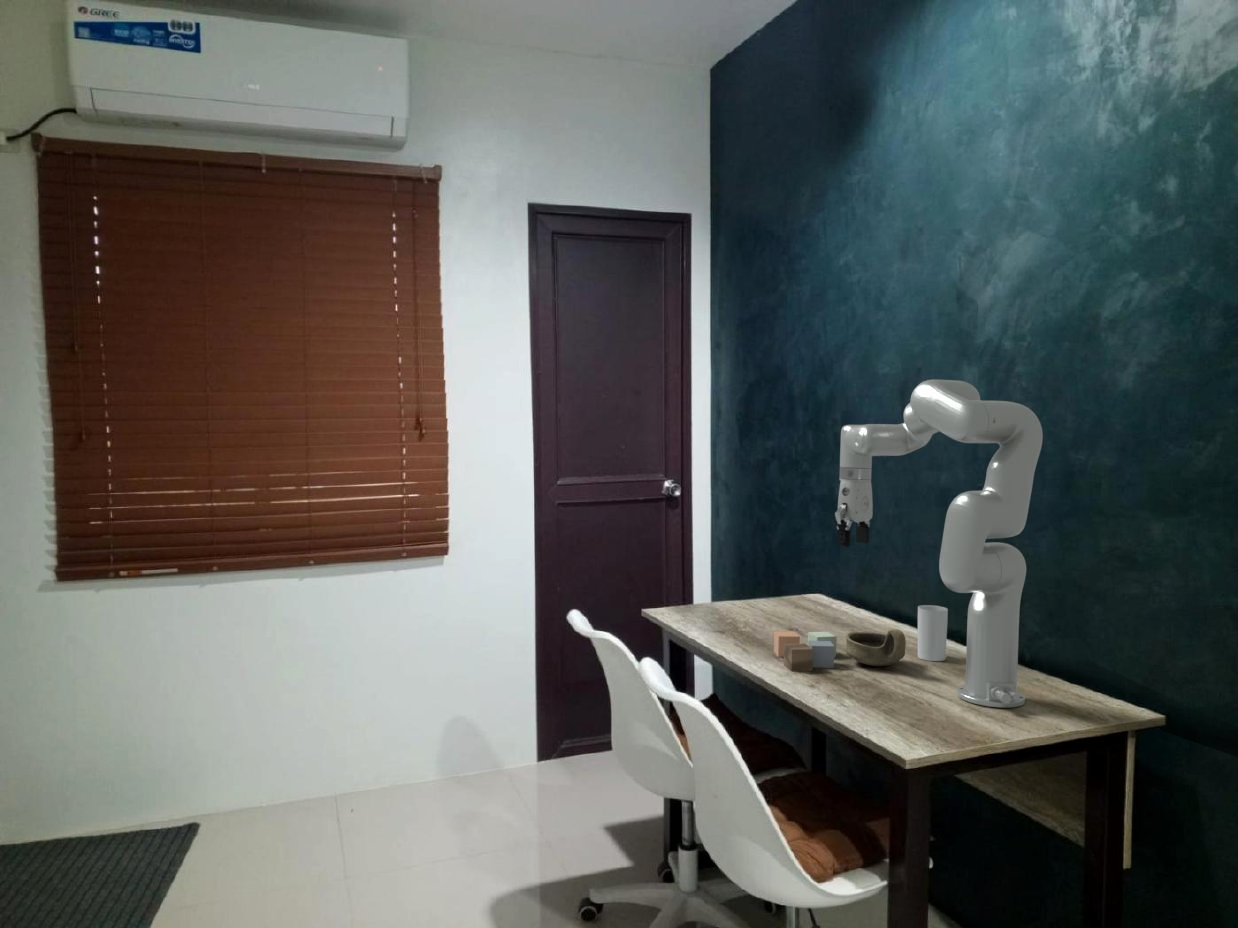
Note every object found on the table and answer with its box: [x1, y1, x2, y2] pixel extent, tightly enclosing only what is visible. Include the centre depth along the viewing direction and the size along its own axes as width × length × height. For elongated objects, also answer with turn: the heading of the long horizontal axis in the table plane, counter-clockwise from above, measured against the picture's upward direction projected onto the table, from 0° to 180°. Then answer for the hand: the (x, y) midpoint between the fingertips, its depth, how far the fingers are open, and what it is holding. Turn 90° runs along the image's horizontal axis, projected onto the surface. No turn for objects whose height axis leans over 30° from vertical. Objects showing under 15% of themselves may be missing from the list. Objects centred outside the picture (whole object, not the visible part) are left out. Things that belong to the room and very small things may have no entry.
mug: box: [917, 604, 949, 662], centre depth 207 cm, size 10×7×12 cm, turn 7°
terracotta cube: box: [773, 631, 801, 658], centre depth 208 cm, size 5×5×5 cm
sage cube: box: [807, 631, 837, 658], centre depth 208 cm, size 5×5×5 cm
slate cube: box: [809, 641, 835, 669], centre depth 199 cm, size 5×5×5 cm
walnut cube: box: [783, 642, 814, 672], centre depth 196 cm, size 5×5×5 cm
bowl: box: [845, 628, 907, 667], centre depth 198 cm, size 14×18×10 cm
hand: (853, 544), depth 213 cm, fingers open, 9 cm apart
